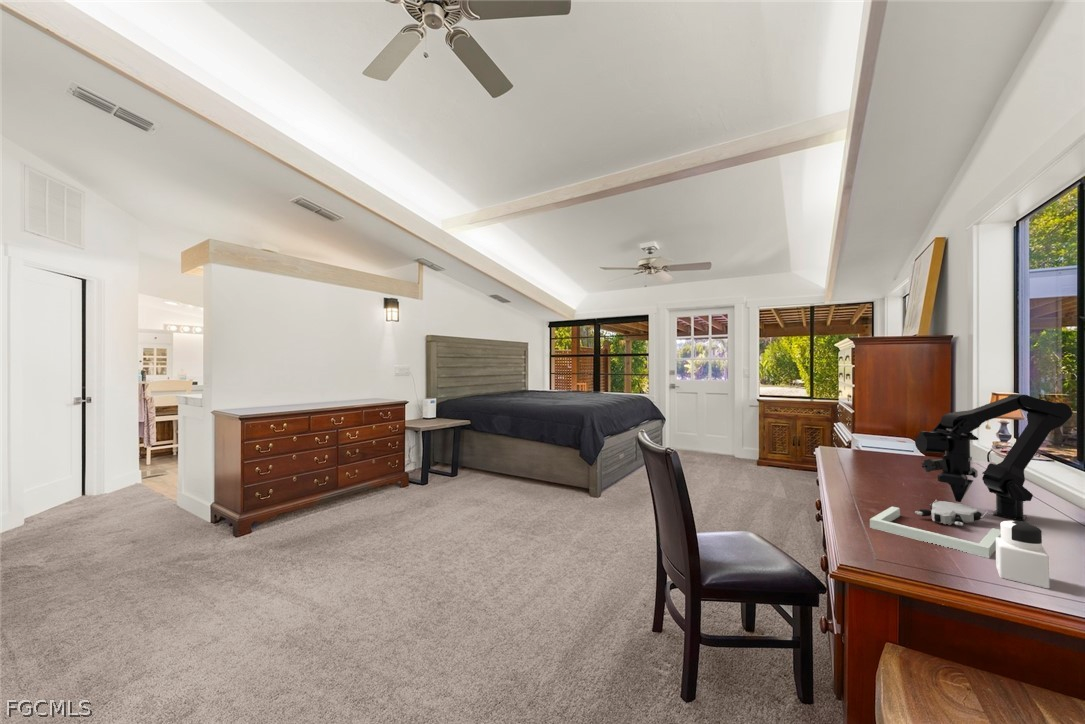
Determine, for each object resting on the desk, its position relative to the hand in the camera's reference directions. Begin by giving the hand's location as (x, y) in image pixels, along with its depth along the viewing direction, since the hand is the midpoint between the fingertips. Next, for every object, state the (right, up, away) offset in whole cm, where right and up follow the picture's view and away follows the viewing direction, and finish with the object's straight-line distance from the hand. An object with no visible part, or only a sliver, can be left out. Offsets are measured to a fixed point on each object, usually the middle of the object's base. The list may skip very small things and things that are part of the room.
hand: (958, 501), depth 133 cm
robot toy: (-10, -4, -7) cm, 12 cm away
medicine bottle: (-27, -3, -41) cm, 49 cm away
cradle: (-23, -4, -16) cm, 29 cm away
